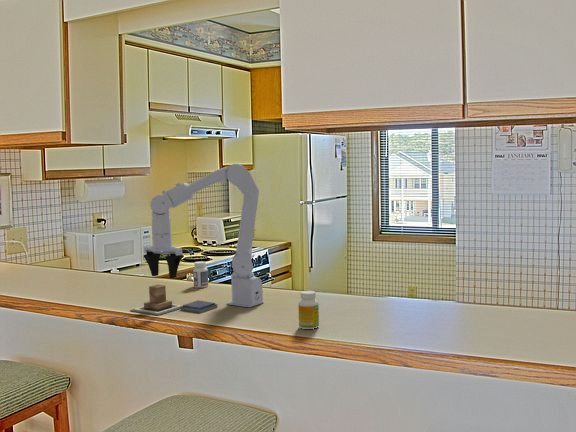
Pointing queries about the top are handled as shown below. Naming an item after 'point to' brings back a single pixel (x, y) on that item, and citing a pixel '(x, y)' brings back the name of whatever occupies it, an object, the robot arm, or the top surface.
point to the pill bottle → (200, 275)
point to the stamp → (157, 299)
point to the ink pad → (199, 306)
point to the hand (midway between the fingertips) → (163, 276)
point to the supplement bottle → (308, 310)
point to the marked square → (157, 313)
